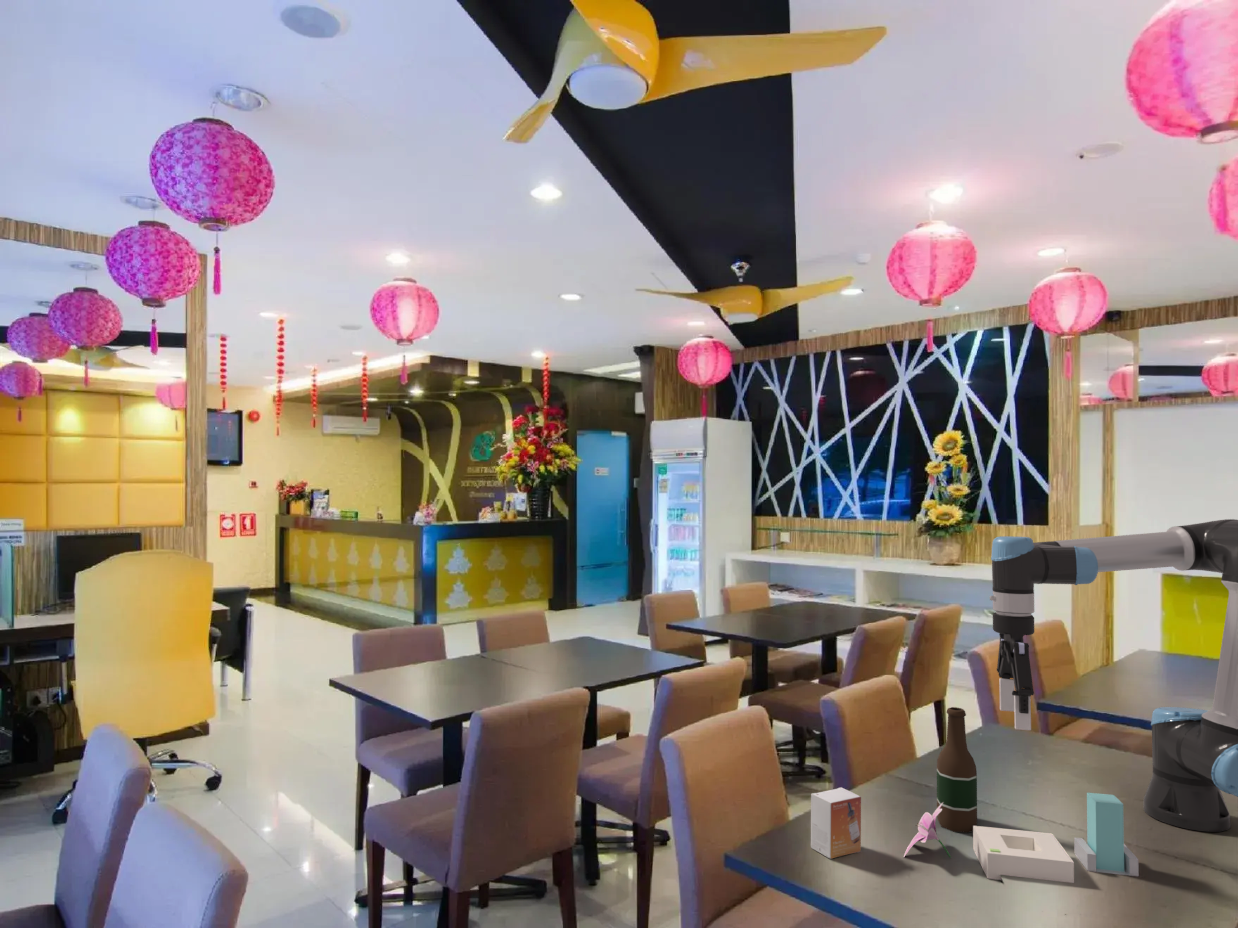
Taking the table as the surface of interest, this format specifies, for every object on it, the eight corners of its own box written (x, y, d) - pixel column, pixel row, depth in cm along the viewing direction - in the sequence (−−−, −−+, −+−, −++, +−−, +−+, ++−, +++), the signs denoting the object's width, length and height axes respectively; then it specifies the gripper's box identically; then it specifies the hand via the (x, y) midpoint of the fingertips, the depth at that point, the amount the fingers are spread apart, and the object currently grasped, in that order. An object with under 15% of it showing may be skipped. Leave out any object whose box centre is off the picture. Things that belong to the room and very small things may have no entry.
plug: (1114, 860, 146) (1113, 794, 146) (1124, 871, 141) (1123, 803, 142) (1087, 857, 147) (1086, 792, 147) (1096, 868, 142) (1095, 801, 143)
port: (1052, 857, 149) (1052, 832, 149) (1074, 888, 137) (1073, 860, 137) (973, 848, 152) (973, 824, 152) (987, 878, 140) (987, 851, 140)
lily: (931, 841, 157) (906, 797, 159) (982, 838, 149) (955, 791, 150) (904, 879, 149) (877, 832, 151) (956, 877, 141) (928, 827, 142)
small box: (830, 860, 147) (830, 803, 147) (809, 847, 152) (810, 792, 152) (862, 851, 150) (862, 795, 151) (841, 840, 155) (841, 786, 156)
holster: (1122, 863, 146) (1122, 842, 147) (1138, 881, 140) (1138, 858, 140) (1074, 858, 148) (1074, 837, 148) (1087, 876, 141) (1087, 853, 142)
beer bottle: (974, 836, 157) (973, 715, 158) (933, 827, 162) (932, 709, 162) (979, 823, 164) (979, 707, 165) (940, 814, 168) (939, 701, 169)
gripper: (981, 604, 171) (982, 702, 170) (1006, 621, 147) (1008, 736, 146) (1019, 605, 169) (1020, 704, 168) (1050, 623, 145) (1052, 739, 144)
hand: (1014, 719), depth 157 cm, fingers open, 13 cm apart
